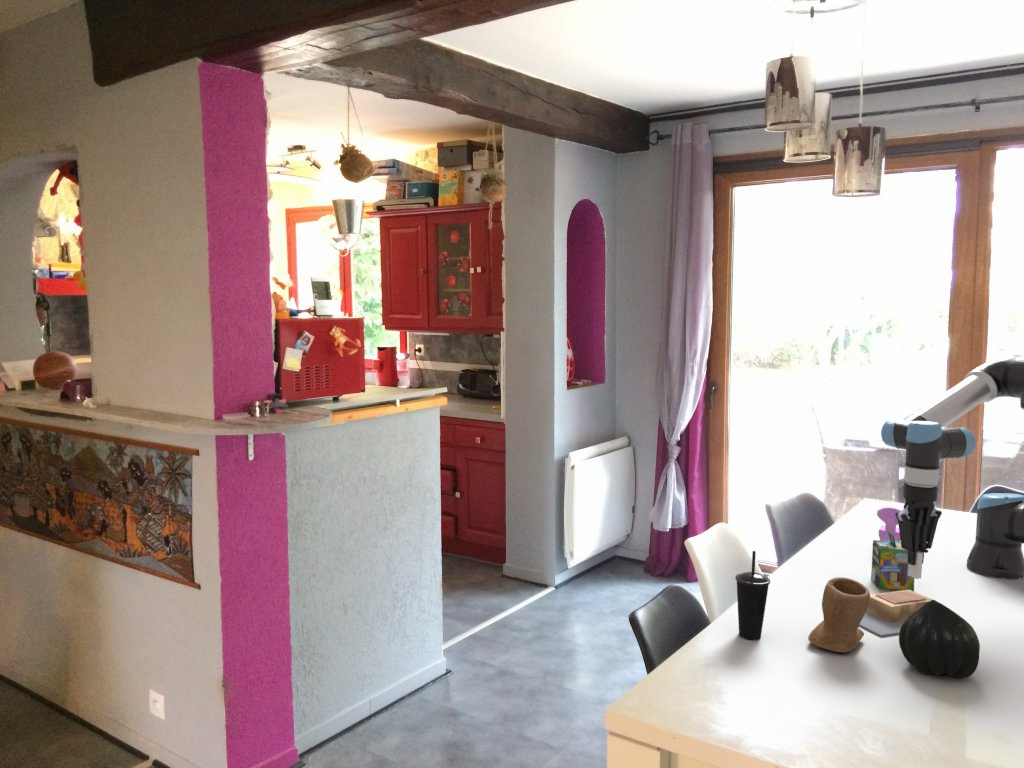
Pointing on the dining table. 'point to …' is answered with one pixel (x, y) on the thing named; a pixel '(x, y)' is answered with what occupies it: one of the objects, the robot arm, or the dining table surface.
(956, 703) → the dining table surface
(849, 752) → the dining table surface
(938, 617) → the squash
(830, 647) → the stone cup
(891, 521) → the toy chair
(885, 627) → the mat
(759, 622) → the drinking cup
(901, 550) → the chalk box
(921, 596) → the oak slab
